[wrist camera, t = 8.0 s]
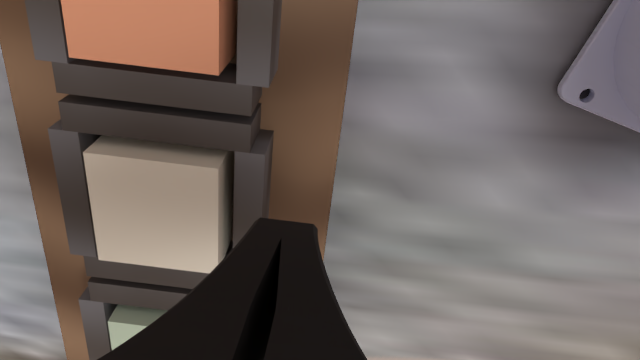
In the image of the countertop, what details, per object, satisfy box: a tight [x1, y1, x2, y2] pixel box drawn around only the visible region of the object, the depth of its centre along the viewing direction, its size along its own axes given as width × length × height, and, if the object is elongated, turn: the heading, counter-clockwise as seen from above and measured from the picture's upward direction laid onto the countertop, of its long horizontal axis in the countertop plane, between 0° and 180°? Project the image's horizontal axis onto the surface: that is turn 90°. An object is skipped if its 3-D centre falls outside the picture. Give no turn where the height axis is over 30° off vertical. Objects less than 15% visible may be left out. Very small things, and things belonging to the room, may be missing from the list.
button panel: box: [0, 0, 358, 360], centre depth 19 cm, size 24×12×4 cm, turn 174°
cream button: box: [83, 135, 234, 274], centre depth 18 cm, size 4×4×2 cm
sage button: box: [108, 304, 168, 350], centre depth 22 cm, size 4×4×2 cm
